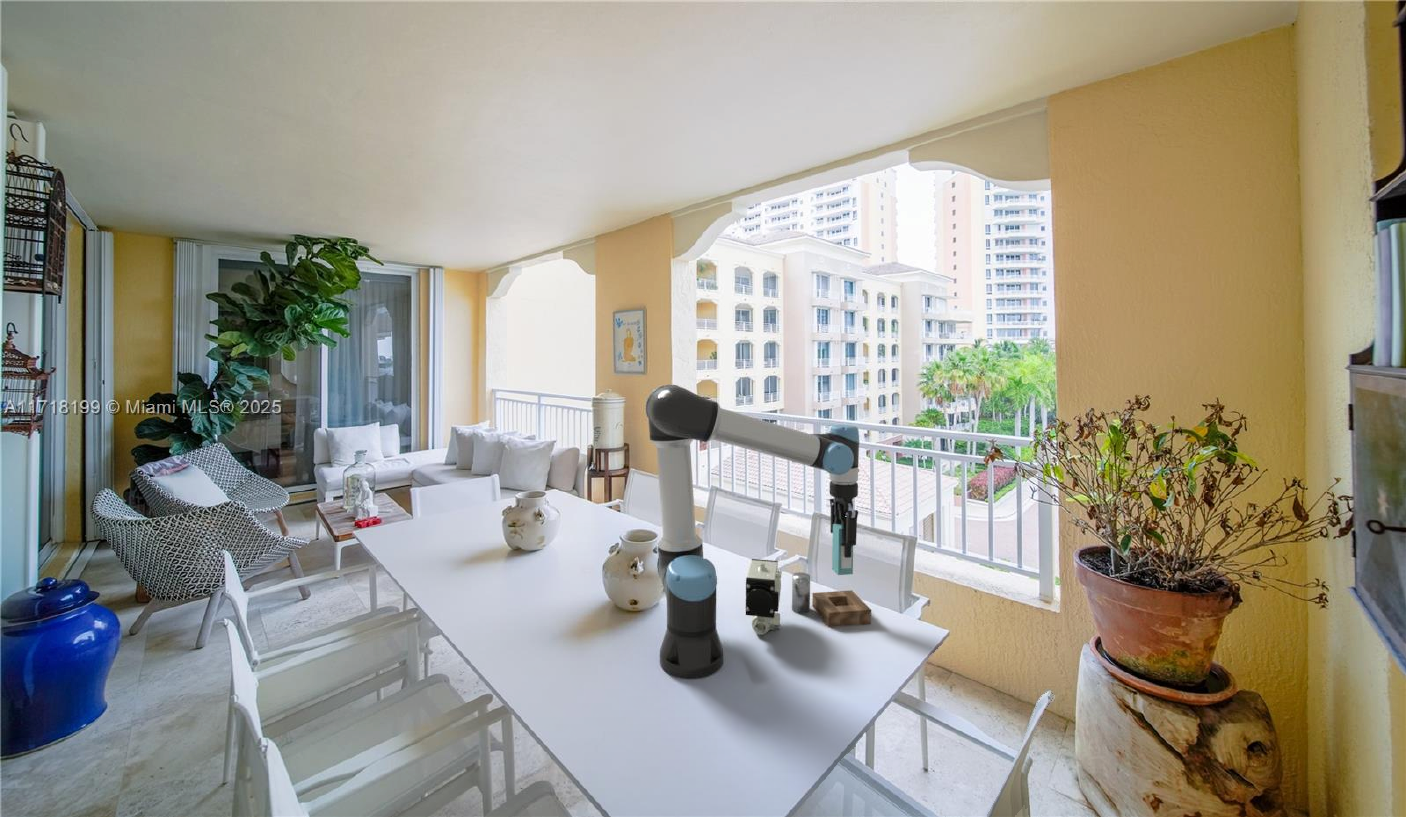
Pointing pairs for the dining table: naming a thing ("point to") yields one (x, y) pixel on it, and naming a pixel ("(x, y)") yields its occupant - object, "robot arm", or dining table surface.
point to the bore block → (841, 608)
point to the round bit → (801, 593)
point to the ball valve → (763, 595)
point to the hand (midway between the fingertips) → (842, 564)
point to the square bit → (839, 552)
